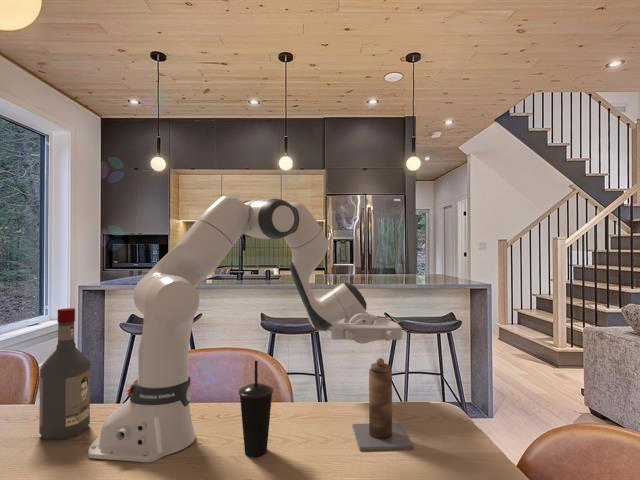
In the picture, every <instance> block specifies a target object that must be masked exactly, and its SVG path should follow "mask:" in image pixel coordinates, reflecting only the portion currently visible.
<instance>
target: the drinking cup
mask: <svg viewBox="0 0 640 480" xmlns="http://www.w3.org/2000/svg"><path fill="white" fill-rule="evenodd" d="M258 365H259V364H258V360H254V382H253V383H249V384H247V385H244V386H243V387H240V388H239V389H238V395H239V399H240V411H241V412H240V413H241V423H242V435H243V436H242V437H243V445H244V446H243V448H244V454H245V456H247V457H250V458H260V457H263V456H264V455H265V454H266V453H267V452H268V442H269V432H270V431H269V430H270V420H271V419H270V418H271V410H272V409H271V408H272V399H273V398H272V396H273V393H274V388H273V386H271V385H269V384H265V383H261V382H259V381H258V380H259V378H258V376H259V375H258V371H259V370H258V369H259V367H258Z"/></svg>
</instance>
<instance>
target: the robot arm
mask: <svg viewBox="0 0 640 480" xmlns="http://www.w3.org/2000/svg"><path fill="white" fill-rule="evenodd" d="M241 236H244V237H248V238H253V239H259V240H280V239H284V241H285V242H286V244H287V247H289V249H290V251H291V252H290V253H291V261H290V263H289V270H290V274H291V276H292V278H293V279H292V280H293V282H294V284H295V287H296V289H297V292H298V294H299V296H300V298H301V301H302V303H303V306H304V308H305V312H306V316H307V321H308V322H309V324H310V325H311V326H312V328H314V329H315V330H316V331H321V332H327V331H329V332H330V337H331V339H332V340H335V341H336V340H341V341H347V340H348V341H349V340H350V341H354V342H355V343H357V344H368V343H373V342H376V341H401V340H402V339H403V327H402V326H401V325H400V324H398V322H395V321H392V318H391V317H387V316H379V315H374V314H371V313H369V312H368V311H367V309H368V306H367V302H366V299H365V297H364V296H363V294H362V292H360V290H359V289H358V288H357V287H356V286H354V284H352V283H349V282H342V283H340V284H339V285H337V286H335V287H333V288H332V289H331V290H330V291H328V292H327V293H325V294H324V295H322V296H320V297H319V298H316V297H315V296H314V295H315V294H314V292H313V290H312V288H311V285H310V278H311V277H312V275H313V273H314V271H315V270H316V268H317V267H318V266H319V265H320V263H321V262H322V261H323V259H324V258H325V256H326V253H327V251H328V239H327V236H326V235H325V232H324V231H323V229H322V227H321V226H320V223H319V222H318V221H317V219H316V218H315V216H314V215H313V214H312V213H311V211H310V210H309V209H308V208H307V207H306V206H305V204H303V203H302V202H298V201H291V202H288V201H286V200H284V199H281V198H257V199H252V200H250V199H249V200H246V201H243V200H241V199H240V198H238V197H235V196H234V195H233V196H232V195H223V196H220V197H219V198H218V199H217V200H216V201H214V202H213V203H212V204H211V205H210V206H208V207H207V209H206V210H205V211H203V213H202V214H200V216H199V217H198V218H197V219H196V221H194V223H193V224H192V225H191V227H190V228H189V229H188V230H187V232H185V234H184V235H183V236H182V238H181V239H179V241H178V242H177V243H176V245H175V246H174V247H172V249H170V250H169V251H168V252H167V253H166V254H165V255H164V256H163V257H162V258H161V259H159V261H158V262H157V263H156V264H155V265H154V266H153V267H152V268H151V269H150V270H149V271H148V272H147V273H146V274H145V275H144V276H143V277H142V278H141V279H140V280H139V281H138V282H137V284H136V285H135V287H134V289H133V301H134V305H135V307H136V309H137V310H138V311H139V312H140V313H141V314H142V315H143V324H142V325H143V326H142V330H141V331H142V332H141V337H140V342H139V346H138V350H137V354H138V355H137V361H138V362H137V364H138V365H137V378H136V379H135V380H134V381H133V384H131V385H130V386H129V388H128V389H127V390H126V392H127V393H126V396H129V399H128V400H126V401H125V402H124V403H122V404H121V405H120V406H119V407H118V408H116V409H115V410H114V411H113V412H111V414H109V416H108V417H107V418H106V419H105V420H104V422H103V425H102V427H101V432H100V435H98V436H97V438H95V439H94V440H93V442H92V443H91V444H90V446H89V447H88V451H87V457H88V458H89V459H98V460H109V461H110V460H111V461H122V462H123V461H124V462H125V461H126V462H135V463H136V462H137V463H139V462H140V463H153V462H156V461H158V460H159V459H161V458H164V457H165V456H168V455H171V454H175V453H177V452H179V451H181V450H184V449H186V448H187V447H189V446H190V445H191V444H193V443H194V441H195V440H196V438H197V437H196V435H197V434H196V432H195V430H194V425H193V422H192V421H193V420H192V413H191V407H190V403H191V398H192V385H191V377H190V376H189V374H190V373H189V371H190V370H189V369H190V368H189V365H190V364H189V362H190V357H189V355H190V352H189V351H190V341H191V334H192V329H193V325H194V319H195V315H196V313H197V311H198V309H199V307H200V306H199V305H200V296H199V293H198V291H197V289H196V287H197V286H198V285H199V284H200V283H201V282H202V281H203V280H204V279H206V278H207V277H208V276H209V275H212V274H213V273H214V271H216V269H217V268H218V266H219V265H220V264H221V263H222V262H223V260H224V259H225V258H226V256H227V255H228V254H229V252H230V251H231V249H232V248H233V247H234V245H235V244H236V243H237V241H238V240H239V238H241ZM342 320H343V322H341V321H342Z"/></svg>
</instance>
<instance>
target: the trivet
mask: <svg viewBox="0 0 640 480" xmlns="http://www.w3.org/2000/svg"><path fill="white" fill-rule="evenodd" d="M351 425H352V426H351V427H352V430H353V431H352V432H354V436H355V440H356V443H357V446H358V449H359V450H358V451H360V452H364V451H366V452H367V451H369V452H370V451H393V450H394V451H397V450H399V451H400V450H401V451H403V450H414V445H413V443H412V441H411V440H410V438H409V437H408V435H407V432H406V431H405V430H404V428H403V426H402V425H401V423H400V422H392V436H391V437H390V438H388V439H376V438H373V437H371V436H370V434H369V422H367V423H366V422H365V423H352V424H351Z"/></svg>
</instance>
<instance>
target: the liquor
mask: <svg viewBox="0 0 640 480" xmlns="http://www.w3.org/2000/svg"><path fill="white" fill-rule="evenodd" d="M75 322H76V308H74V307H73V308H71V307H69V308H59V309H57V322H56V323H57V328H58V329H57V344H56V347H55V348H56V349H55V350H54V351H53V352H52V353H51V354H50V355H49V357H47V359H46V360H44V362H43V363H42V365H41V367H40V369H39V420H38V421H39V425H38V427H39V430H38V432H39V434H40V436H41V437H42V438H43V440H67V439H70V438H69V437H71V438H73V436H74V437H77V436H78V435H79V434H81V433H82V432H83V431H84V430H86V429H87V428H88V427H89V425H90V423H91V422H90V421H91V362H90V359H89V358H88V357H87V356H86V355H85V354H84V353H83V352H82V351H80V350H79V349H78V348H77V347H76V345H77V344H76V342H75ZM66 438H67V439H66Z"/></svg>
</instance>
